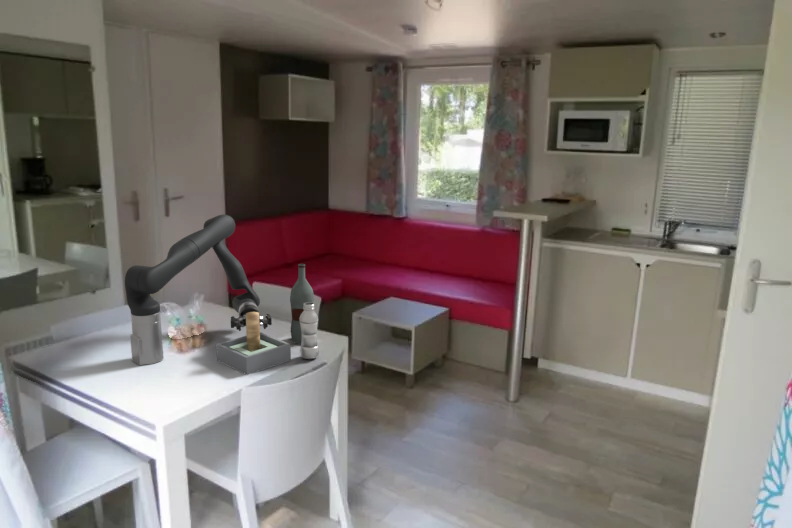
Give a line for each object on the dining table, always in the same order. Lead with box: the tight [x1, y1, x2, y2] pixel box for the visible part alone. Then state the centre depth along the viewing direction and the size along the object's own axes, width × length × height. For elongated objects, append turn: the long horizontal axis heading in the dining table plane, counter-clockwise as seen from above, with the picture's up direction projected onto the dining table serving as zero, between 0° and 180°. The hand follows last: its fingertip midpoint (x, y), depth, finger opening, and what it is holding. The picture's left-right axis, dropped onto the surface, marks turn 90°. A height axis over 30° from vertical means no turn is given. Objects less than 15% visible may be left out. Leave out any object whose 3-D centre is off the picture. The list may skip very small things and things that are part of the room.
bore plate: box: [229, 340, 278, 356], centre depth 198 cm, size 12×12×4 cm
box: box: [215, 331, 292, 376], centre depth 198 cm, size 18×18×6 cm
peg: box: [245, 312, 261, 352], centre depth 196 cm, size 4×4×16 cm
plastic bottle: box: [299, 302, 320, 360], centre depth 199 cm, size 6×7×20 cm
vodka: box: [289, 263, 315, 345], centre depth 216 cm, size 9×9×30 cm
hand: (252, 327), depth 198 cm, fingers open, 8 cm apart
